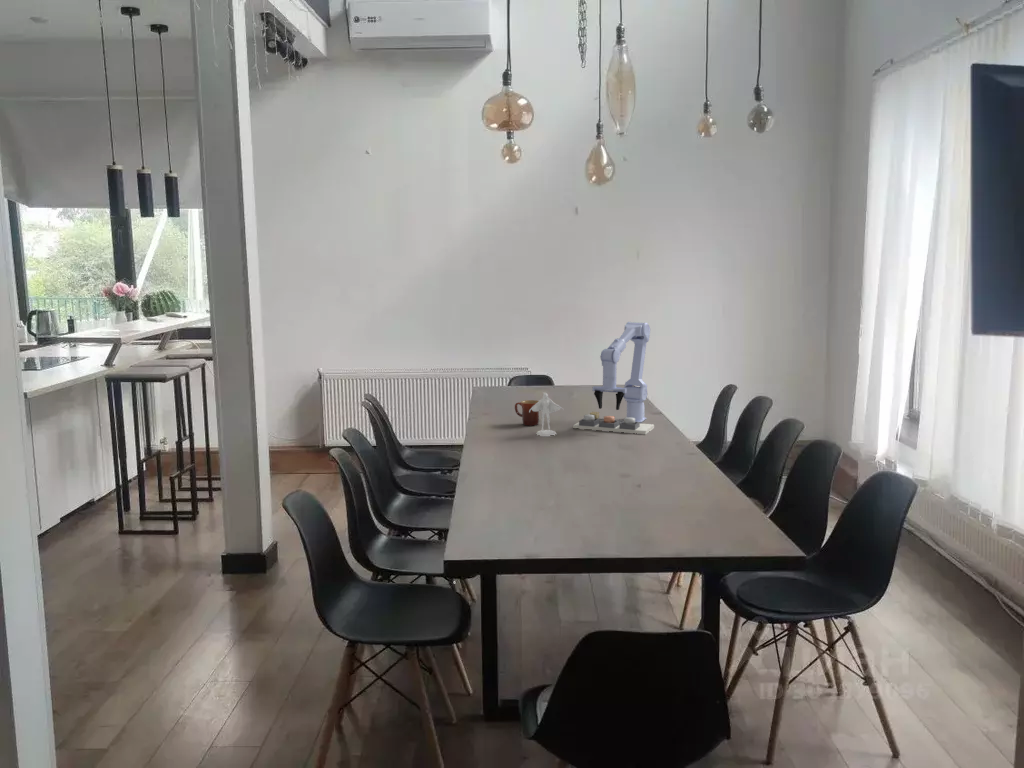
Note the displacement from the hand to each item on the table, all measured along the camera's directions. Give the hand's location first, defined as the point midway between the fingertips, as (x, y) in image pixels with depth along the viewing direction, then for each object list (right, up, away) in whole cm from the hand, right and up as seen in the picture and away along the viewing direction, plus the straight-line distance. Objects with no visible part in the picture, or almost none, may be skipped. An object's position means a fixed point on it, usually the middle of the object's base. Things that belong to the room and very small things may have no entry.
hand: (609, 408), depth 343 cm
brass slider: (-5, -6, +12) cm, 14 cm away
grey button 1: (-8, -5, +5) cm, 11 cm away
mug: (-34, -8, +15) cm, 38 cm away
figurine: (-27, -10, -4) cm, 29 cm away
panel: (+2, -8, +4) cm, 10 cm away
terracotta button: (0, -6, +1) cm, 6 cm away
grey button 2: (+8, -6, -2) cm, 11 cm away
